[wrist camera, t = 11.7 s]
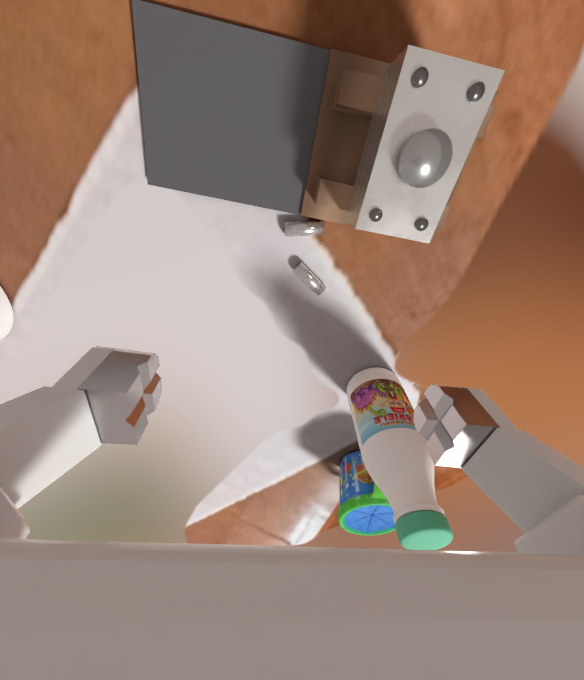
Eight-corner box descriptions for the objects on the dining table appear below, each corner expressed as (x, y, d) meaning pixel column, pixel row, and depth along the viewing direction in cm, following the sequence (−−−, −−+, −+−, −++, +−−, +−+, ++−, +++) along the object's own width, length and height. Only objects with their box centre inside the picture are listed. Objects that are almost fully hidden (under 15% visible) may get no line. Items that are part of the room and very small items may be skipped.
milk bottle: (396, 402, 42) (464, 558, 25) (346, 406, 43) (380, 562, 26) (400, 362, 38) (484, 518, 21) (345, 368, 39) (384, 523, 22)
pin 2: (291, 273, 30) (300, 266, 30) (294, 267, 31) (302, 259, 31) (315, 297, 32) (324, 290, 31) (317, 290, 33) (326, 284, 32)
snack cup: (373, 486, 55) (388, 545, 46) (322, 481, 54) (327, 540, 46) (403, 437, 47) (428, 497, 38) (343, 429, 46) (355, 490, 37)
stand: (300, 214, 28) (301, 219, 25) (330, 51, 22) (335, 34, 19) (428, 240, 29) (443, 248, 26) (492, 93, 23) (520, 83, 20)
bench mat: (149, 183, 27) (147, 184, 26) (134, 0, 20) (131, -2, 20) (310, 216, 28) (310, 216, 28) (342, 54, 22) (343, 53, 21)
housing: (384, 70, 20) (415, 37, 15) (460, 90, 20) (516, 65, 15) (344, 218, 25) (357, 231, 20) (406, 230, 26) (434, 246, 21)
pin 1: (285, 239, 29) (284, 229, 27) (285, 228, 29) (284, 218, 28) (323, 238, 29) (324, 228, 27) (322, 227, 29) (323, 217, 28)
